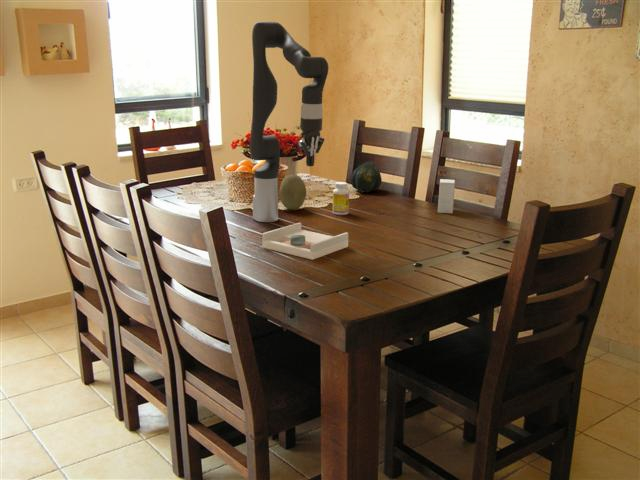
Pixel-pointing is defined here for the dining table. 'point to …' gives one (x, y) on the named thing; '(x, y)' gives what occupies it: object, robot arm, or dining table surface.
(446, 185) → the small box
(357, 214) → the dining table surface
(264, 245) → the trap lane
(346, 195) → the supplement bottle
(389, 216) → the dining table surface
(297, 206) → the fruit
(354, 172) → the squash
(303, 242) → the puck
